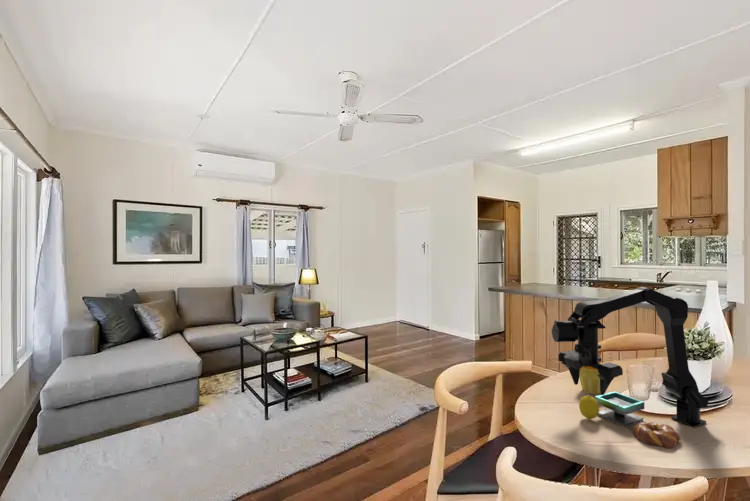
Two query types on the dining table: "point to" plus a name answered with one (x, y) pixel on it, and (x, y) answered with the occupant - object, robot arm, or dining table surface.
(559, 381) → the dining table surface
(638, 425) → the pretzel
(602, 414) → the teal tray on stand
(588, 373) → the plant pot
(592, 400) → the lemon
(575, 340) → the robot arm
